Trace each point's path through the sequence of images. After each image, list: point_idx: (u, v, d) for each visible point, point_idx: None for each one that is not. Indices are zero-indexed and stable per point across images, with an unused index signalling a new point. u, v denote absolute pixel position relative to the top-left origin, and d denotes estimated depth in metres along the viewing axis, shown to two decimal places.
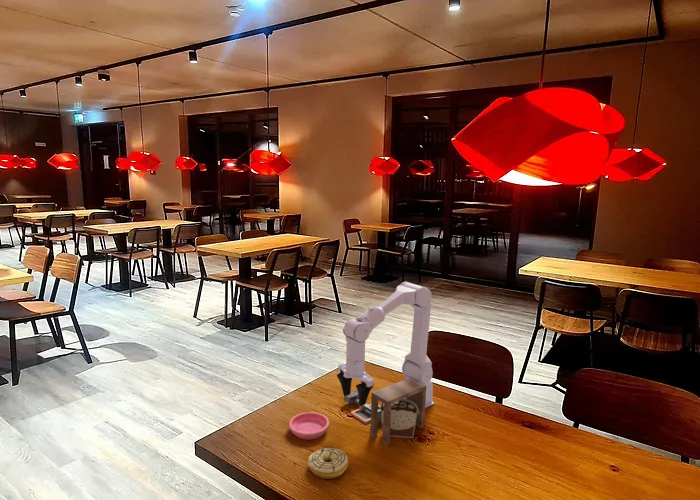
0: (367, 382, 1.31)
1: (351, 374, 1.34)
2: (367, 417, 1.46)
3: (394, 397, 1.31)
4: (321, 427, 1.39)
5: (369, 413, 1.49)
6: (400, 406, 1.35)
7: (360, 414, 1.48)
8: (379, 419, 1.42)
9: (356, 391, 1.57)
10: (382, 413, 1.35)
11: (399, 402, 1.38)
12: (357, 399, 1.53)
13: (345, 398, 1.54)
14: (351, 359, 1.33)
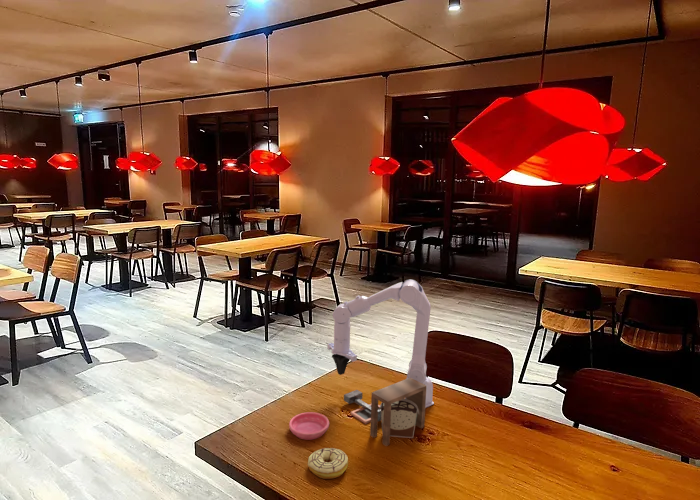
0: (351, 357, 1.52)
1: (338, 351, 1.55)
2: (367, 417, 1.46)
3: (394, 397, 1.31)
4: (321, 427, 1.39)
5: (369, 413, 1.49)
6: (400, 406, 1.35)
7: (360, 414, 1.48)
8: (379, 419, 1.42)
9: (356, 391, 1.57)
10: (382, 413, 1.35)
11: (399, 402, 1.38)
12: (357, 399, 1.53)
13: (345, 398, 1.54)
14: (334, 336, 1.57)
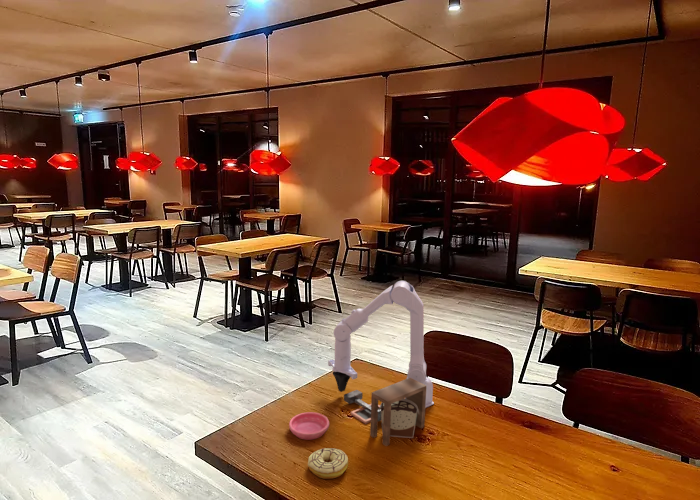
0: (352, 375, 1.53)
1: (338, 368, 1.56)
2: (367, 417, 1.46)
3: (394, 397, 1.31)
4: (321, 427, 1.39)
5: (369, 413, 1.49)
6: (400, 406, 1.35)
7: (360, 414, 1.48)
8: (379, 419, 1.42)
9: (356, 391, 1.57)
10: (382, 413, 1.35)
11: (399, 402, 1.38)
12: (357, 399, 1.53)
13: (345, 398, 1.54)
14: None
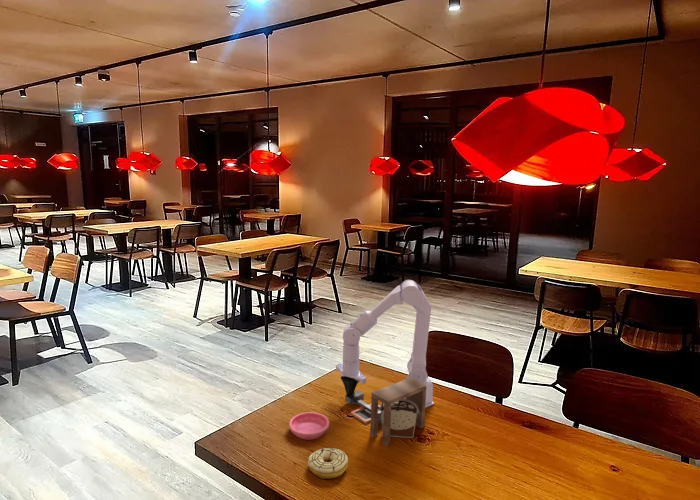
0: (361, 380, 1.49)
1: (347, 373, 1.53)
2: (367, 417, 1.46)
3: (394, 397, 1.31)
4: (321, 427, 1.39)
5: (369, 413, 1.49)
6: (400, 406, 1.35)
7: (360, 414, 1.48)
8: None
9: (357, 392, 1.56)
10: (382, 413, 1.35)
11: (399, 402, 1.38)
12: (358, 400, 1.53)
13: (346, 399, 1.53)
14: (343, 358, 1.53)
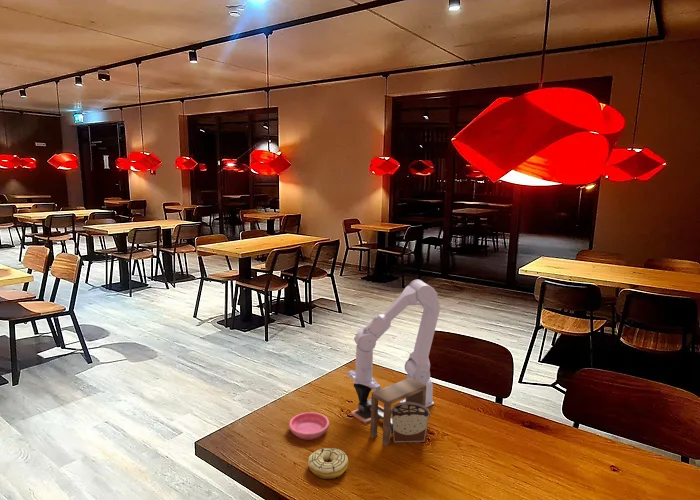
0: (375, 388, 1.44)
1: (360, 380, 1.47)
2: (367, 417, 1.46)
3: (394, 397, 1.31)
4: (321, 427, 1.39)
5: (369, 413, 1.49)
6: (411, 411, 1.33)
7: (360, 414, 1.48)
8: None
9: (370, 400, 1.51)
10: (393, 419, 1.32)
11: (408, 406, 1.36)
12: None
13: (359, 407, 1.48)
14: (357, 366, 1.47)
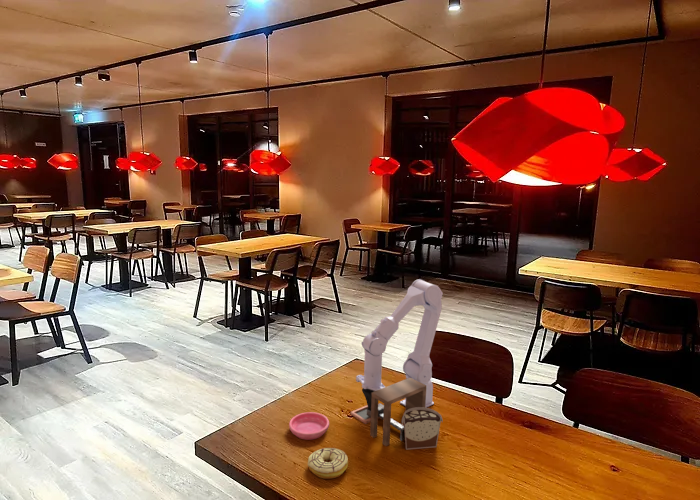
0: None
1: (369, 385, 1.44)
2: (367, 417, 1.46)
3: (394, 397, 1.31)
4: (321, 427, 1.39)
5: None
6: (423, 416, 1.30)
7: (360, 414, 1.48)
8: None
9: (379, 405, 1.48)
10: (406, 426, 1.28)
11: (418, 412, 1.33)
12: (381, 414, 1.44)
13: (368, 413, 1.45)
14: (367, 371, 1.43)
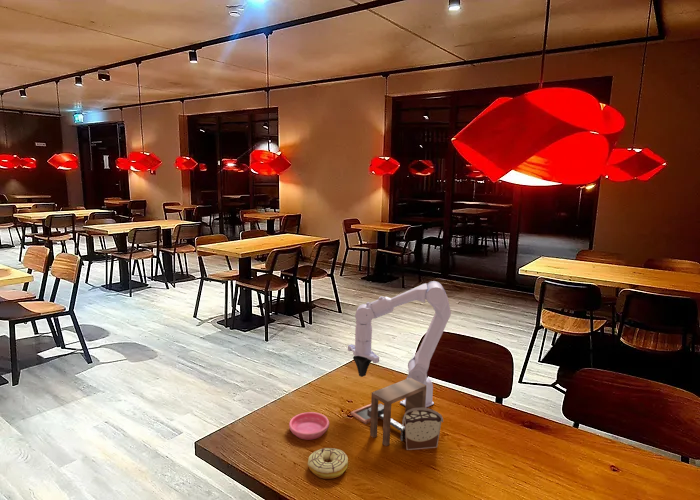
0: (374, 359, 1.49)
1: (359, 352, 1.52)
2: (367, 417, 1.46)
3: (394, 397, 1.31)
4: (321, 427, 1.39)
5: None
6: (423, 417, 1.30)
7: (360, 414, 1.48)
8: None
9: (380, 405, 1.47)
10: (406, 426, 1.28)
11: (419, 412, 1.33)
12: (381, 414, 1.44)
13: (369, 413, 1.44)
14: (355, 337, 1.53)
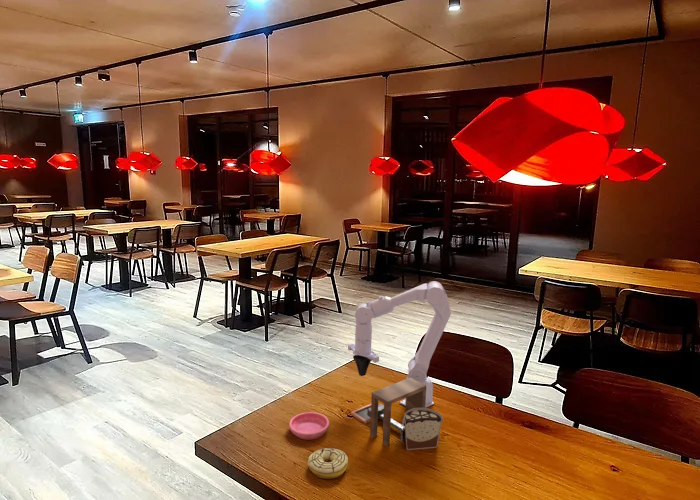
0: (374, 358, 1.49)
1: (359, 352, 1.52)
2: (367, 417, 1.46)
3: (394, 397, 1.31)
4: (321, 427, 1.39)
5: None
6: (423, 417, 1.30)
7: (360, 414, 1.48)
8: None
9: (380, 405, 1.47)
10: (406, 426, 1.28)
11: (419, 412, 1.33)
12: (381, 414, 1.44)
13: (369, 413, 1.44)
14: (355, 337, 1.53)
